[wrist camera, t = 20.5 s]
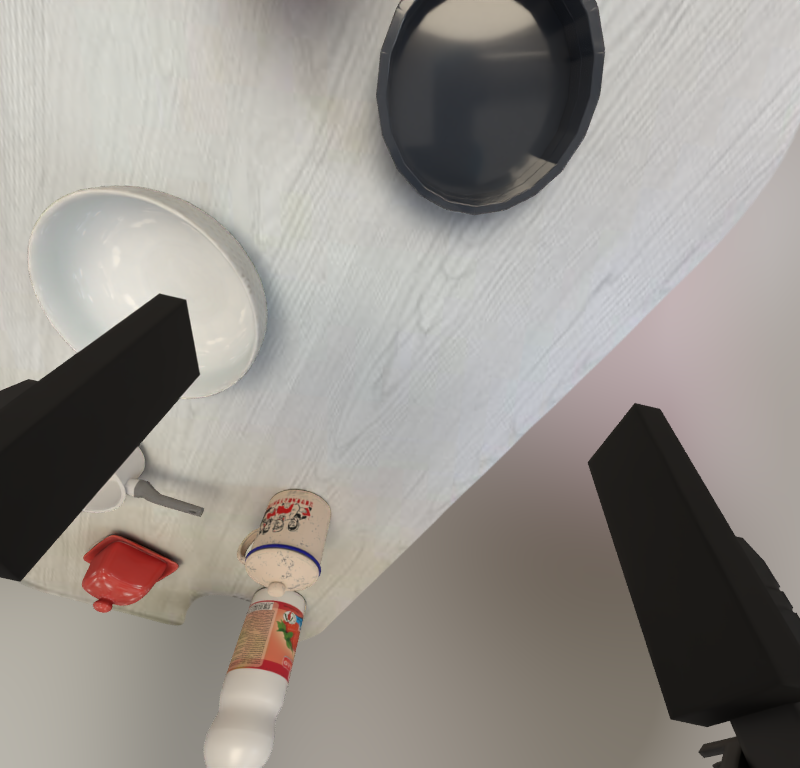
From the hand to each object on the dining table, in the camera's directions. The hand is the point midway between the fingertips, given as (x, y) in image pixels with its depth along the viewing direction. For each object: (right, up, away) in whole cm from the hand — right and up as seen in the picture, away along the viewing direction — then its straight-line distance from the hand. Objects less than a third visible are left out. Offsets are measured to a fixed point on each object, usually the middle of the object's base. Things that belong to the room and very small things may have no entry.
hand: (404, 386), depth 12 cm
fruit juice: (-21, -38, +57) cm, 72 cm away
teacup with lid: (-15, -17, +43) cm, 48 cm away
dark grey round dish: (+5, +20, +15) cm, 26 cm away
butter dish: (-43, -27, +51) cm, 72 cm away
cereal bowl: (-19, +10, +24) cm, 32 cm away
